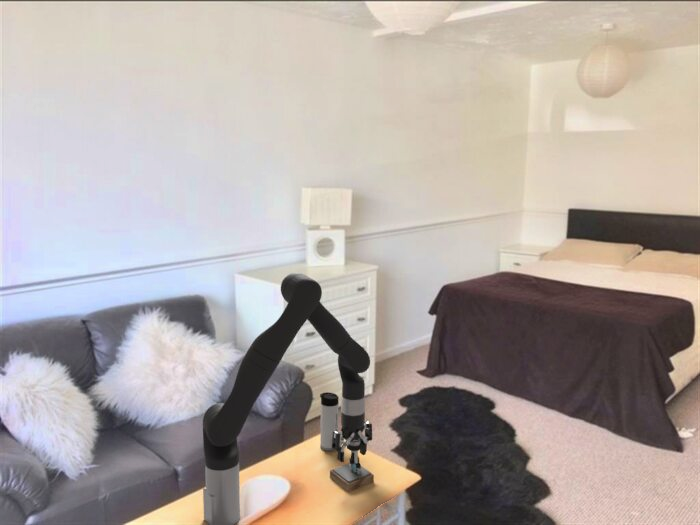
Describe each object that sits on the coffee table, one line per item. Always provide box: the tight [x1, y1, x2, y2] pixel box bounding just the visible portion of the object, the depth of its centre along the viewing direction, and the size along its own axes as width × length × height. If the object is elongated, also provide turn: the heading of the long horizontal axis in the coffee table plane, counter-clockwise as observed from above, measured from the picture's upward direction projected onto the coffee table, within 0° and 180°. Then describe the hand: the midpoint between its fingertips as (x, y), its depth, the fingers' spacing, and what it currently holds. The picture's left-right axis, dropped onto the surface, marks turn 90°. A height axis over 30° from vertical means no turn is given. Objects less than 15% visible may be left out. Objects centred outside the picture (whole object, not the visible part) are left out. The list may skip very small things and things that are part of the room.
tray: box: [329, 463, 375, 493], centre depth 180 cm, size 10×10×3 cm
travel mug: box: [319, 392, 340, 452], centre depth 200 cm, size 6×7×20 cm
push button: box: [346, 439, 363, 474], centre depth 179 cm, size 7×5×10 cm
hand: (352, 457), depth 179 cm, fingers open, 8 cm apart
